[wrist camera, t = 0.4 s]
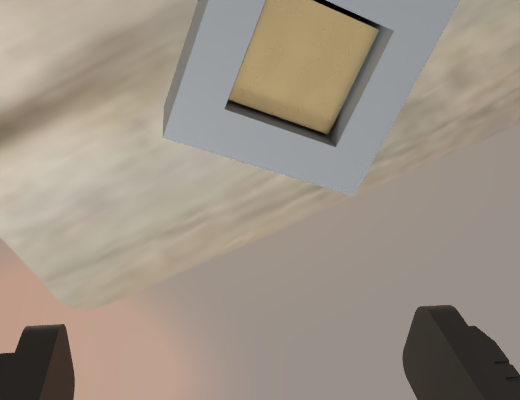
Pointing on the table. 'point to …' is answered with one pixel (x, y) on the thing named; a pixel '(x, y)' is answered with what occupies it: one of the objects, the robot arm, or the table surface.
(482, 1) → the table surface
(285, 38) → the beige square tile
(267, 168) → the socket block
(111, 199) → the table surface
